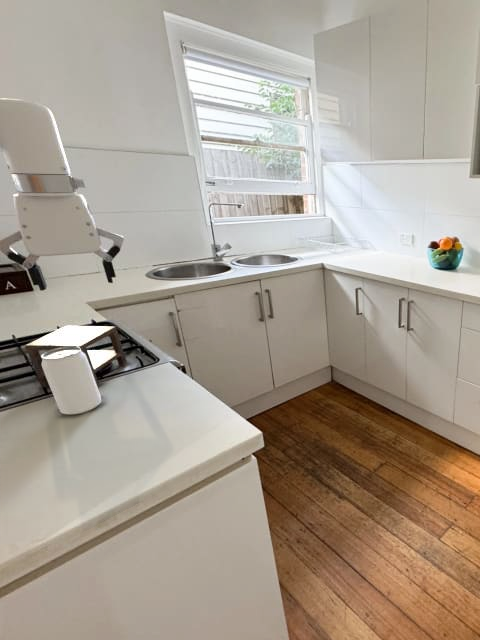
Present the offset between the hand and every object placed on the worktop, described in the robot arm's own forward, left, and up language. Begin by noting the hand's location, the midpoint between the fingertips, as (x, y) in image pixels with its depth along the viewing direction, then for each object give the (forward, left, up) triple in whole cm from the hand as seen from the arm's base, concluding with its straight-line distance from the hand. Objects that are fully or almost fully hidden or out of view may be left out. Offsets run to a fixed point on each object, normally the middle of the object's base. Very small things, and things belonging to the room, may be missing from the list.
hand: (78, 284), depth 71 cm
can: (-3, -5, -24) cm, 25 cm away
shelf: (-11, +8, -24) cm, 27 cm away
